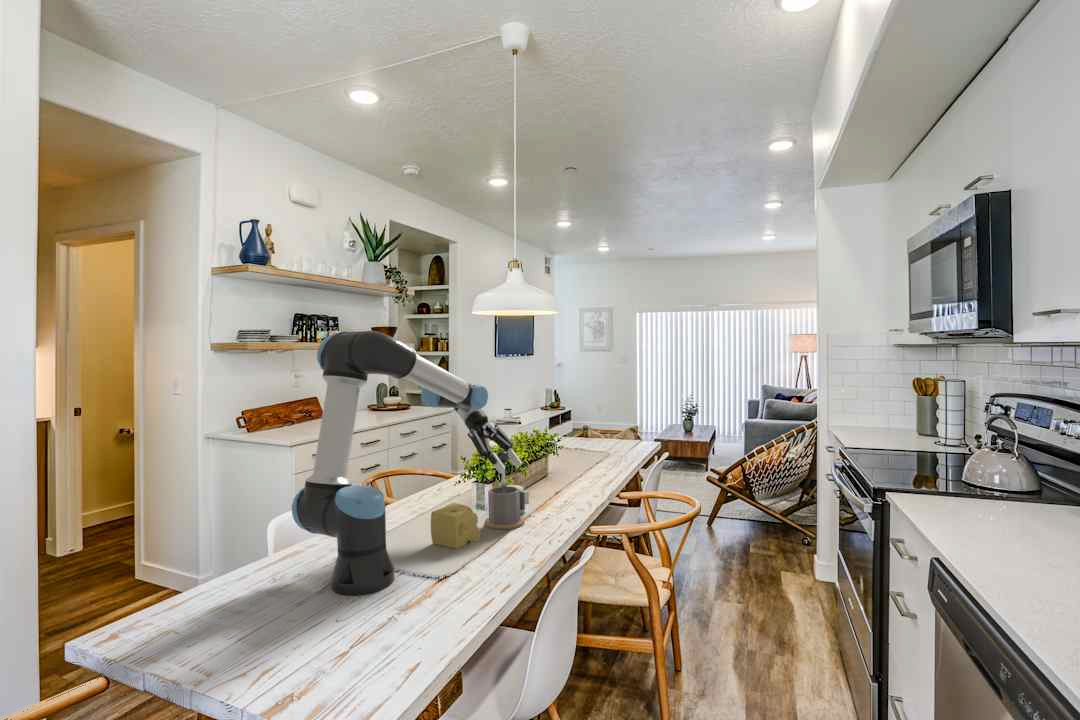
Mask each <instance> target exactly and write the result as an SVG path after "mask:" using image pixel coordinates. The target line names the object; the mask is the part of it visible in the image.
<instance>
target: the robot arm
mask: <svg viewBox="0 0 1080 720" xmlns="http://www.w3.org/2000/svg"><path fill="white" fill-rule="evenodd" d="M316 359H317V363H318V364H319V368H320V369H321V370H322V371H323V372H322V379H323V380H324V381H325V383H326V391H325V397H324V403H323V409H322V416H321V423H320V428H319V433H318V441H317V446H316V452H315V460H314V466H313V471H312V473H311V475H310V476H309V477H307V478H306V479H305V484H304V487H302V488H301V489H299V492H298V493H296V494H295V495H294V496H295V497H294V498H293V499H292V500H293V501H292V504H291V514H292V518H293V520H294V522H295V524H296V525H297V526H298V527H299V528H300V529H302V530H304V531H307V532H308V533H311V534H314V535H316V534H317V535H323V536H327V537H331V538H336V542H337V557H336V560H335V564H334V567H333V570H332V573H331V574H332V575H331V578H330V579H331V580H330V581H331V583H330V584H331V590H332V591H333V592H334V593H336V594H340V595H343V596H359V595H367V594H371V593H375V592H379V591H381V590H383V589H385V588H387V587H388V586H390V585H391V584H392V583H393V582H394V580H395V568H394V566H393V562H392V560H391V557H390V555H389V553H388V550H387V537H386V535H387V531H386V529H387V528H386V507H387V506H386V504H385V496H384V494H383V492H382V491H381V490H380V489H378V488H376V487H373V486H370V485H359V484H358V485H352V481H351V480H350V478H349V477H348V472H349V471H348V470H349V465H350V457H351V452H352V451H351V450H352V445H353V444H352V443H353V439H354V438H353V437H354V432H355V424H356V418H357V411H358V405H359V398H360V392H361V391H360V390H361V388H362V387H364V386H365V385H366V384H368V383H367V382H368V376H369V375H384V376H390V377H392V378H395V379H397V380H401V379H405V380H407V381H409V382H411V383H413V384H415V385H417V386H419V387H421V388H422V389H421V392H420V401H421V402H422V403H423V405H425V406H426V407H428V408H453V409H454V411H455V412H456V413H457V415H458V416H459V418H460V419H461V420H462V422H463V423H464V425H465V427H466V428H467V429H468V433H467V436H468V438H470V440H471V442H472V443H473V446H474V447H475V449H476V451H477V453H478V454H479V456H480V457H481V458H483V459H484V460H487V459H488V461H490V463H491V464H492V465H493V466H494V468H495V469H496V471H497V472H498V473H499V474H501V475H502V472H503V471H504V470H505V471H506V465H505V466H504V465H503V463H502V462H501V461H500V459H499V458H498V457H497V453H495V452H493V451H492V448H491V445H490V442H489V440H490V441H492V442H494V443H495V444H497V446H499V447H500V448H501V449H502V450H503V451H507V452H508V459H509V460H510V461H511V463H512V464H513V465H514V467H515V469H519V468H520V466H521V465H522V464H523V462H522V460H521V459H520V458H519V456H518V454H517V453H516V452H515V449H513V447H514V446H515V443H514V442H513V441H512V440H511V439H510V438H509V437H508V435H507V434H506V433H505V432H504V431H503V430H502V429H501V427H500V426H499V424H497V423H495V424H494V425H493V424H491V423H489V417H488V416H487V414H486V413H485V412H484V410H482V408H485V407H486V406H487V403H488V399H489V393H488V390H487V388H486V386H484V385H481V384H480V385H479V384H472V383H469V382H467V381H465V380H463V379H462V378H460V377H459V376H456V375H455V374H453V373H451V372H449V371H447V370H446V369H444V368H442V367H440V366H438V365H437V364H435V363H433V362H432V361H429V360H428V359H426V358H424V357H423V356H420V355H419V354H417V351H416V350H415V348H413V347H412V346H411V345H408V344H407V343H406V342H404V341H403V342H402V341H401V340H399V339H397V338H395V337H393V336H390V335H388V334H386V333H383V332H380V331H376V330H365V331H357V330H356V331H340V332H334V333H331V334H330V335H328V336H326V337H325V338H323V340H322V341H321V343H320V344H319V346H318V348H317V353H316Z"/></svg>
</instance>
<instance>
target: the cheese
mask: <svg viewBox="0 0 1080 720" xmlns="http://www.w3.org/2000/svg"><path fill="white" fill-rule="evenodd" d="M478 523H479V517H478V515H477V513H476V512H474V511H473V509H472V508H471V507H470V506H468V505H464V504H461V503H456V502H451V503H450V504H447V505H446V506H444V507H441V508H439V509H436V510H433V511H432V512H431V513H430V536H431V541H432V542H431V543H432V544H434V545H438V546H441V545H442V546H443V547H447V548H452V549H456V550H458V549H460V548H462V547H464V546H465V545H467V543H473V542H475V541H477V540H479V539H480V528H479V527H478V525H477V524H478ZM474 540H475V541H474ZM472 541H473V542H472Z"/></svg>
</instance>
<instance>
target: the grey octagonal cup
mask: <svg viewBox="0 0 1080 720" xmlns="http://www.w3.org/2000/svg"><path fill="white" fill-rule="evenodd" d="M523 491H524V490H523ZM523 491H520V489H518V488H516V487H512V486H509V485H506V494H502V485H501V486H495V487H491V488H490V489H488V491H487V493H488V494H487V497H488V498H487V499H488V517H487V518H486V519H485V520H484V526H487V528H488V527H489V529H491V528H492V530H497V529H498V530H499V529H500V530H499V531H501V530H502V531H503V530H504V531H505V530H514V529H517V528H521V527H523V526H524V525H525V524H526V523H525V517H523V515H521V516H520V510H524V511H525V510H526V504H525V497H524V492H523Z"/></svg>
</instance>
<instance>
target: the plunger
mask: <svg viewBox="0 0 1080 720" xmlns="http://www.w3.org/2000/svg"><path fill="white" fill-rule="evenodd" d="M496 455H497V457H498V458H499V459H500V461H501V462H502V463H503V465H504V466H505V467H506V463H508V462H509V460H510V459H509V457H508V452H507V451H505V450H502V451H501V450H500V451H497V453H496ZM501 486H502V494H506V486H507V484H506V469H505V470H504V471H503V472H502V473H501Z"/></svg>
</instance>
